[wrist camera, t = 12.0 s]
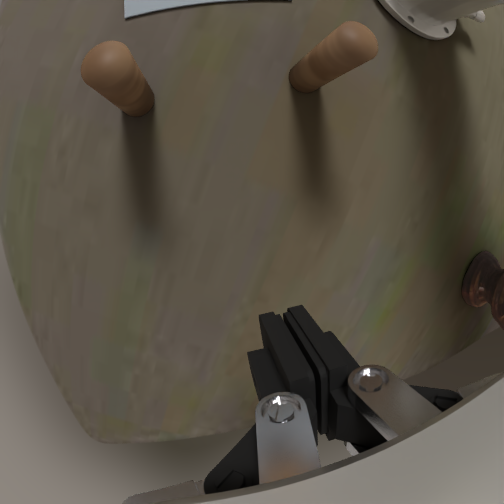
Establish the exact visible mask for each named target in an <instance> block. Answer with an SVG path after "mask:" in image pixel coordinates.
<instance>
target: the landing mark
mask: <svg viewBox="0 0 504 504" xmlns="http://www.w3.org/2000/svg"><path fill="white" fill-rule="evenodd" d="M228 1H246V0H124V7H125V19H126V18H130V17H134V16H138V15H142V14H146V13H151V12H156V11H161V10H166V9H171V8H177V7H184V6H190V5H198V4H206V3H216V2H228ZM290 1H292V0H290Z"/></svg>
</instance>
